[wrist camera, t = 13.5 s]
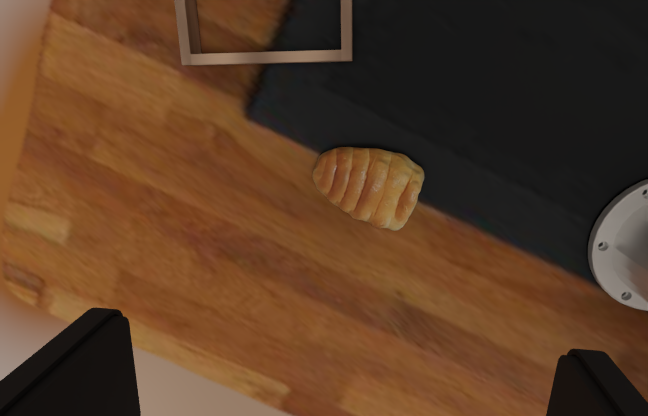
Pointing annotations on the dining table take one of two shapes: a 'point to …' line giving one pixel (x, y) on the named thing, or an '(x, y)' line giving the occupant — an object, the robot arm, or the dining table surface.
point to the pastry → (370, 184)
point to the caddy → (194, 57)
